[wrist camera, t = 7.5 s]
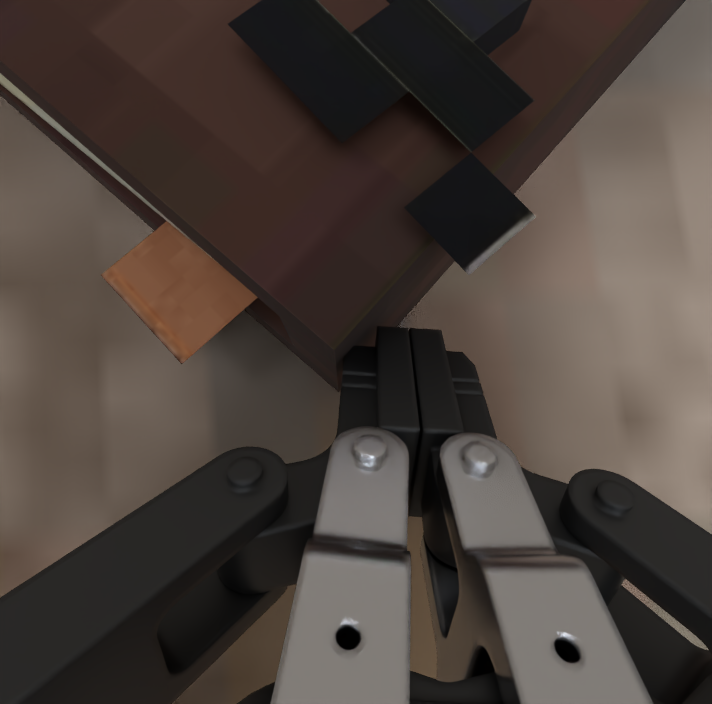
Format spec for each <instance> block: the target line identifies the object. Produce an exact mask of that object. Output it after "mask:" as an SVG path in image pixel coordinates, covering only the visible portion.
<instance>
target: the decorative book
mask: <svg viewBox="0 0 712 704" xmlns="http://www.w3.org/2000/svg"><path fill="white" fill-rule="evenodd" d="M684 1H685V0H0V95H1V96H2V97H3V98H4V99H5V100H6V101H8V102H9V103H10V104H11V105H12V106H13V107H14V108H16V109H17V110H18V111H19V112H20V113H21V114H22V115H24V116H25V117H26V118H27V119H28V120H29V121H30V122H32V123H33V124H34V125H35V126H36V127H37V128H38V129H40V130H41V131H42V132H43V133H44V134H45V135H46V136H48V137H49V138H50V139H51V140H52V141H53V142H54V143H55V144H57V145H58V146H59V147H60V148H61V149H62V150H63V151H65V152H66V153H67V154H68V155H69V156H70V157H71V158H73V159H74V160H75V161H76V162H77V163H78V164H79V165H81V166H82V167H83V168H84V169H85V170H86V171H87V172H89V173H90V174H91V175H92V176H93V177H94V178H95V179H96V180H98V181H99V182H100V183H101V184H102V185H103V186H104V187H106V188H107V189H108V190H109V191H110V192H111V193H112V194H114V195H115V196H116V197H117V198H118V199H119V200H120V201H122V202H123V203H124V204H125V205H126V206H127V207H128V208H130V209H131V210H132V211H133V212H134V213H135V214H136V215H138V216H139V217H140V218H141V219H142V220H143V221H144V222H145V223H147V224H148V225H149V226H150V227H151V228H152V229H153V230H155V231H154V232H153V233H151V234H150V235H149V236H148V237H147V238H145V239H144V240H143V241H142V242H140V243H139V244H138V245H137V246H136V247H134V248H133V249H132V250H131V251H129V252H128V253H127V254H126V255H125V256H123V257H122V258H121V259H120V260H118V261H117V262H116V263H115V264H114V265H112V266H111V267H110V268H109V269H107V270H106V271H105V272H104V273H103V274H101V276H102V277H103V278H104V279H105V280H106V281H107V283H108V284H109V285H110V286H111V287H112V288H113V289H114V290H115V291H116V292H117V294H118V295H119V296H120V297H121V298H122V299H123V300H124V301H125V302H126V303H127V305H128V306H129V307H130V308H131V309H132V310H133V311H134V312H135V313H136V314H137V316H138V317H139V318H140V319H141V320H142V321H143V322H144V323H145V324H146V325H147V327H148V328H149V329H150V330H151V331H152V332H153V333H154V334H155V335H156V336H157V338H158V339H159V340H160V341H161V342H162V343H163V344H164V345H165V346H166V347H167V349H168V350H169V351H170V352H171V353H172V354H173V355H174V356H175V357H176V358H177V360H178V361H179V362H180V363H181V364H182V363H184V362H185V361H186V360H187V359H188V358H189V357H190V356H192V355H193V354H194V353H195V352H196V351H197V350H198V349H200V348H201V347H202V346H203V345H204V344H205V343H206V342H208V341H209V340H210V339H211V338H212V337H213V336H214V335H216V334H217V333H218V332H219V331H220V330H221V329H222V328H223V327H225V326H226V325H227V324H228V323H229V322H230V321H231V320H233V319H234V318H235V317H236V316H237V315H238V314H239V313H241V312H242V311H243V310H244V309H245V310H246V311H247V312H248V313H249V314H250V315H251V316H253V317H254V318H255V319H256V320H257V321H258V322H259V323H261V324H262V325H263V326H264V327H265V328H266V329H267V330H269V331H270V332H271V333H272V334H273V335H274V336H275V337H276V338H278V339H279V340H280V341H281V342H282V343H283V344H284V345H286V346H287V347H288V348H289V349H290V350H291V351H292V352H294V353H295V354H296V355H297V356H298V357H299V358H300V359H302V360H303V361H304V362H305V363H306V364H307V365H308V366H310V367H311V368H312V369H313V370H314V371H315V372H316V373H317V374H319V375H320V376H321V377H322V378H323V379H324V380H325V381H327V382H328V383H329V384H330V385H331V386H332V387H333V388H335V389H336V390H337V391H338V392H339V391H340V390H341V384H342V373H343V362H344V357H345V356H346V354H347V353H348V352H349V351H350V350H351V348H352V347H353V346H370V347H375V341H376V331H377V326H384V327H397V325H398V324H399V323H400V322H401V321H402V320H403V319H404V317H405V316H406V315H407V314H408V313H409V312H410V311H411V310H412V308H413V307H414V306H415V305H416V304H417V303H418V302H419V301H420V299H421V298H422V297H423V296H424V295H425V294H426V293H427V292H428V290H429V289H430V288H431V287H432V286H433V285H434V284H435V283H436V281H437V280H438V279H439V278H440V277H441V276H442V275H443V273H444V272H445V271H446V270H447V269H448V268H449V267H450V266H451V264H452V263H453V262H454V261H456V262H457V263H458V264H459V265H460V266H461V267H462V269H463V270H464V271H465V272H466V273H467V274H468V275H469V274H471V273H472V272H473V271H474V270H475V269H476V268H478V267H479V266H480V265H481V264H482V263H483V262H484V261H486V260H487V259H488V258H489V257H490V256H491V255H493V254H494V253H495V252H496V251H497V250H498V249H499V248H501V247H502V246H503V245H504V244H505V243H506V242H508V241H509V240H510V239H511V238H512V237H513V236H514V235H516V234H517V233H518V232H519V231H520V230H521V229H522V228H524V227H525V226H526V225H527V224H528V223H529V222H531V221H532V220H533V219H534V218H535V217H536V216H535V215H534V214H533V213H532V212H531V211H530V210H529V209H528V208H527V207H526V206H525V205H524V204H523V203H522V202H521V201H520V200H519V199H518V198H517V197H516V196H515V195H514V193H515V192H516V191H517V190H518V189H519V188H520V187H521V185H522V184H523V183H524V182H525V181H526V180H527V179H528V178H529V176H530V175H531V174H532V173H533V172H534V171H535V170H536V168H537V167H538V166H539V165H540V164H541V163H542V162H543V161H544V159H545V158H546V157H547V156H548V155H549V154H550V153H551V152H552V150H553V149H554V148H555V147H556V146H557V145H558V144H559V143H560V141H561V140H562V139H563V138H564V137H565V136H566V135H567V133H568V132H569V131H570V130H571V129H572V128H573V127H574V126H575V124H576V123H577V122H578V121H579V120H580V119H581V118H582V117H583V115H584V114H585V113H586V112H587V111H588V110H589V109H590V108H591V106H592V105H593V104H594V103H595V102H596V101H597V100H598V98H599V97H600V96H601V95H602V94H603V93H604V92H605V91H606V89H607V88H608V87H609V86H610V85H611V84H612V83H613V82H614V80H615V79H616V78H617V77H618V76H619V75H620V74H621V73H622V71H623V70H624V69H625V68H626V67H627V66H628V65H629V63H630V62H631V61H632V60H633V59H634V58H635V57H636V56H637V54H638V53H639V52H640V51H641V50H642V49H643V48H644V47H645V45H646V44H647V43H648V42H649V41H650V40H651V39H652V38H653V36H654V35H655V34H656V33H657V32H658V31H659V30H660V28H661V27H662V26H663V25H664V24H665V23H666V22H667V21H668V19H669V18H670V17H671V16H672V15H673V14H674V13H675V12H676V10H677V9H678V8H679V7H680V6H681V5H682V4H683V3H684Z"/></svg>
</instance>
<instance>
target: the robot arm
mask: <svg viewBox="0 0 712 704" xmlns="http://www.w3.org/2000/svg"><path fill="white" fill-rule="evenodd" d="M408 515H409V516H414V517H422V521H423V536H422V541H421V547H420V554H421V560H422V566H423V572H424V578H425V583H426V589H427V595H428V601H429V606H430V612H431V618H432V624H433V630H434V635H435V641H436V649H437V680H436V679H433V678H430V677H427V676H424V675H422V674H419V673H416V672H413V671H410V616H411V555H410V551H407V522H408ZM624 579H627V580H628V581H629V582H630V583H632V584H633V585H634V586H635V587H637V588H638V589H639V590H640V591H641V592H643V593H644V594H645V595H646V596H648V597H649V598H650V599H651V600H653V601H654V602H655V603H656V604H657V605H659V606H660V607H661V608H662V609H664V610H665V611H666V612H667V613H669V614H670V615H671V616H672V617H673V618H675V619H676V620H677V621H678V622H680V623H681V624H682V625H683V626H685V627H686V628H687V629H688V630H690V631H691V632H692V633H693V634H694V635H696V636H697V637H698V638H699V639H700V640H701V641H702V642H703V643H704V644H705V645H706V647H707V648H708V649H709V651H708V650H704V649H702V648H699V647H697V646H696V645H694V644H692V643H691V642H690V641H688V640H687V639H686V638H685V637H683V636H682V635H681V634H680V633H679V632H677V631H676V630H675V629H674V628H673V627H671V626H670V625H669V624H668V623H666V622H665V621H664V620H663V619H662V618H660V617H659V616H658V615H657V614H656V613H654V612H653V611H652V610H651V609H650V608H648V607H647V606H646V605H645V604H644V603H642V602H641V601H640V600H639V599H637V598H636V597H635V596H634V595H633V594H631V593H630V592H629V591H628V590H627V589H625V588H624V587H623V586H622V585H621V584H622V583H623V581H624ZM293 584H297V585H296V590H295V594H294V599H293V604H292V608H291V613H290V617H289V622H288V626H287V631H286V636H285V640H284V645H283V649H282V654H281V658H280V663H279V668H278V672H277V677H276V681H275V682H274V683H271V684H269V685H266V686H264V687H262V688H261V689H259V690H257V691H255V692H253V693H251V694H250V695H248V696H247V697H245V698H244V699H243V700H241V701H240V702H238V703H237V704H712V534H710V533H709V532H707V531H706V530H704V529H703V528H701V527H700V526H698V525H697V524H695V523H694V522H692V521H691V520H689V519H688V518H686V517H685V516H683V515H682V514H680V513H679V512H677V511H676V510H674V509H673V508H671V507H670V506H668V505H667V504H665V503H664V502H662V501H661V500H659V499H658V498H656V497H655V496H653V495H652V494H650V493H649V492H647V491H646V490H644V489H643V488H641V487H640V486H638V485H637V484H635V483H634V482H632V481H631V480H629V479H627V478H625V477H623V476H621V475H619V474H616V473H614V472H610V471H606V470H600V469H587V470H583V471H580V472H578V473H576V474H575V475H574V476H573V477H572V478H571V480H570V481H569V484H566V483H563V482H560V481H557V480H553V479H550V478H547V477H544V476H540V475H537V474H535V473H532V472H530V471H528V470H526V469H524V468H522V467H520V465H519V462H518V460H517V458H516V456H515V455H514V453H513V452H512V451H511V450H510V449H509V448H508V447H507V446H506V445H505V444H503V443H502V442H500V441H499V440H497V437H496V434H495V430H494V427H493V424H492V420H491V417H490V414H489V411H488V407H487V404H486V401H485V397H484V396H483V391H482V387H481V384H480V383H479V377H478V374H477V371H476V367H475V365H474V364H473V363H472V362H471V361H470V360H469V359H468V358H467V357H466V356H465V355H464V354H463V352H452V351H446V349H445V344H444V340H443V335H442V331H441V330H433V329H418V328H410V329H409V331H408V328H400V327H384V326H377V331H376V341H375V347H370V346H353V347H352V348H351V350H350V351H349V352H348V353H347V354H346V356H345V357H344V362H343V373H342V384H341V395H340V406H339V418H338V429H337V435H336V438H335V440H334V442H333V443H332V445H331V446H330V447H329V448H328V449H327V450H326V451H324V452H323V453H322V454H320V455H318V456H316V457H313V458H311V459H308V460H304V461H300V462H294V463H289V464H285V463H284V461H283V460H282V459H281V458H280V457H279V456H278V455H277V454H275V453H274V452H272V451H270V450H267V449H264V448H260V447H242V448H237V449H233V450H230V451H227V452H225V453H223V454H221V455H220V456H218V457H216V458H215V459H213V460H212V461H210V462H209V463H207V464H206V465H204V466H203V467H201V468H200V469H198V470H196V471H195V472H193V473H192V474H190V475H189V476H187V477H186V478H184V479H183V480H181V481H179V482H178V483H176V484H175V485H173V486H172V487H170V488H169V489H167V490H166V491H164V492H163V493H161V494H159V495H158V496H156V497H155V498H153V499H152V500H150V501H149V502H147V503H146V504H144V505H142V506H141V507H139V508H138V509H136V510H135V511H133V512H132V513H130V514H129V515H127V516H126V517H124V518H122V519H121V520H119V521H118V522H116V523H115V524H113V525H112V526H110V527H109V528H107V529H105V530H104V531H102V532H101V533H99V534H98V535H96V536H95V537H93V538H92V539H90V540H88V541H87V542H85V543H84V544H82V545H81V546H79V547H78V548H76V549H75V550H73V551H72V552H70V553H68V554H67V555H65V556H64V557H62V558H61V559H59V560H58V561H56V562H55V563H53V564H51V565H50V566H48V567H47V568H45V569H44V570H42V571H41V572H39V573H38V574H36V575H35V576H33V577H31V578H30V579H28V580H27V581H25V582H24V583H22V584H21V585H19V586H18V587H16V588H14V589H13V590H11V591H10V592H8V593H7V594H5V595H4V596H2V597H1V598H0V704H172V703H173V702H174V701H175V700H176V699H177V698H178V697H179V696H180V695H181V694H182V693H183V692H184V691H185V690H186V689H187V688H188V687H189V686H190V685H191V684H192V683H193V682H194V681H195V680H196V679H197V678H198V677H199V676H200V675H201V674H202V673H203V672H204V671H205V670H206V669H207V668H208V667H209V666H210V665H212V664H213V663H214V662H215V661H216V660H217V659H218V658H219V657H220V656H221V655H222V654H223V653H224V652H225V651H226V650H227V649H228V648H229V647H230V646H231V645H232V644H233V643H234V642H235V641H236V640H237V639H238V638H239V637H240V636H241V635H242V634H243V633H244V632H245V631H246V630H247V629H248V628H249V627H250V626H251V625H252V624H253V623H254V622H255V621H257V620H258V619H259V618H260V617H261V616H262V615H263V614H264V613H265V612H266V611H267V610H268V609H269V608H270V607H271V606H272V605H273V604H274V603H275V602H276V601H277V600H278V599H279V598H280V597H281V596H282V595H283V593H284V592H285V590H286V589H287V587H288V586H290V585H293Z"/></svg>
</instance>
